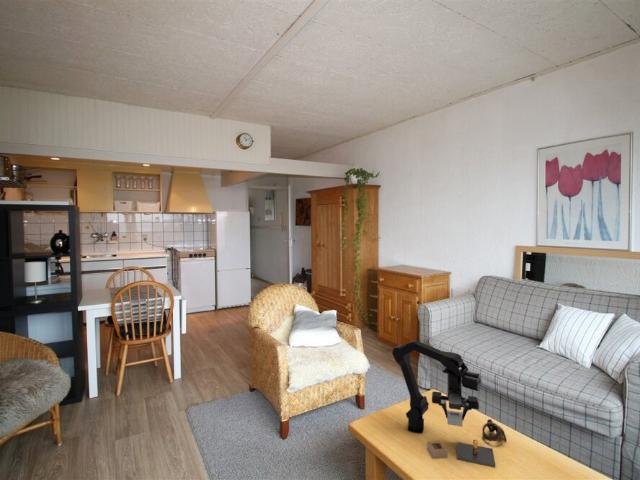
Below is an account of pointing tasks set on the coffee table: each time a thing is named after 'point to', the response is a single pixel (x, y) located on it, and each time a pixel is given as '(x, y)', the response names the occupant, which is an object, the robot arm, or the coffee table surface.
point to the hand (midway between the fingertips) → (454, 419)
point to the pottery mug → (493, 428)
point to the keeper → (475, 454)
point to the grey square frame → (454, 418)
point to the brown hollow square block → (437, 449)
